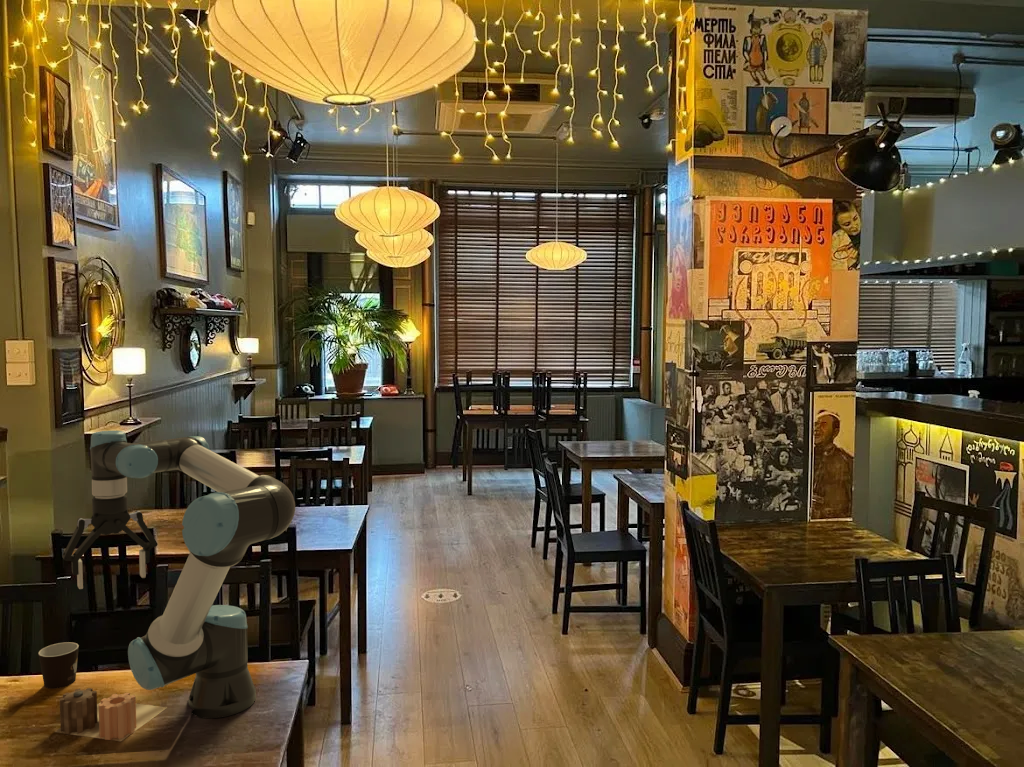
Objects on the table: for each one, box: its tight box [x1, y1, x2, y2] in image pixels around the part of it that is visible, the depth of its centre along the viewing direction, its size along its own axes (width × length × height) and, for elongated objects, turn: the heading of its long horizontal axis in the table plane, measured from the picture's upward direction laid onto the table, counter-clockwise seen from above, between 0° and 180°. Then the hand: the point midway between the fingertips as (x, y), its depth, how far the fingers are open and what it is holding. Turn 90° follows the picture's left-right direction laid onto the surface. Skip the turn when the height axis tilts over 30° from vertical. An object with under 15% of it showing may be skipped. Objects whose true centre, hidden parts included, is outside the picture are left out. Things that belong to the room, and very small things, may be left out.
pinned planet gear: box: [59, 687, 98, 735], centre depth 168 cm, size 7×7×8 cm
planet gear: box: [98, 692, 137, 741], centre depth 166 cm, size 7×7×7 cm
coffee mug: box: [38, 641, 80, 690], centre depth 190 cm, size 12×9×10 cm
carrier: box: [54, 701, 168, 742], centre depth 171 cm, size 17×15×6 cm
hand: (112, 581), depth 183 cm, fingers open, 13 cm apart
